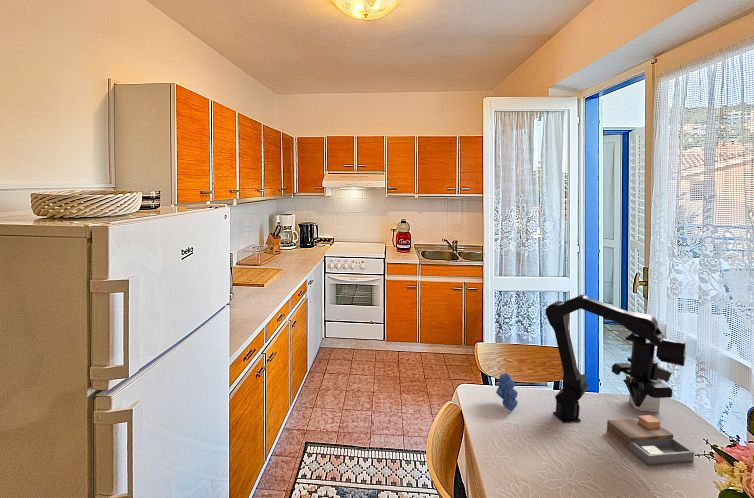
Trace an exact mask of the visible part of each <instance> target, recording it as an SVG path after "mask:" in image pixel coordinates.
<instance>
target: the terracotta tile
mask: <svg viewBox="0 0 754 498" xmlns="http://www.w3.org/2000/svg"><path fill="white" fill-rule="evenodd" d="M638 422H639V423H641V424H642V425H643V426H645V427H646V428H648V429H650V428H660V426H661V421H660V420H659V419H657V418H656V417H654V416H653V415H651V414H649V415H648V414H645V415H638Z"/></svg>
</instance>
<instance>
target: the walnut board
mask: <svg viewBox="0 0 754 498" xmlns="http://www.w3.org/2000/svg"><path fill="white" fill-rule="evenodd" d="M638 418H639V417H638ZM638 418H636V417H635V418H625V419H624V418H622V419H609V420H607V423H606V434H608V435H610V436H611V437H612V438H613V439H615V441H617V442H618V443H619V444H620V445H622V446H623V447H624V448H626V450H627V451H629V449H630V441H639V440H652V439H666V438H674V434H673V433H672V432H671V431H669V430H668V429H666V428H664V427H663V426H661V425H660V428H650V429H648V428H646V427H645V426H643V425H642V424H641V423H639V422H638Z"/></svg>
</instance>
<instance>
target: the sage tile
mask: <svg viewBox="0 0 754 498" xmlns="http://www.w3.org/2000/svg"><path fill="white" fill-rule="evenodd" d="M641 448H642V449H643V450H644V451H646V452H647V453H648V454H661V453H663V452H662V451H660V450H659V449H658V448H656V447H655V446H641Z"/></svg>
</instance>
